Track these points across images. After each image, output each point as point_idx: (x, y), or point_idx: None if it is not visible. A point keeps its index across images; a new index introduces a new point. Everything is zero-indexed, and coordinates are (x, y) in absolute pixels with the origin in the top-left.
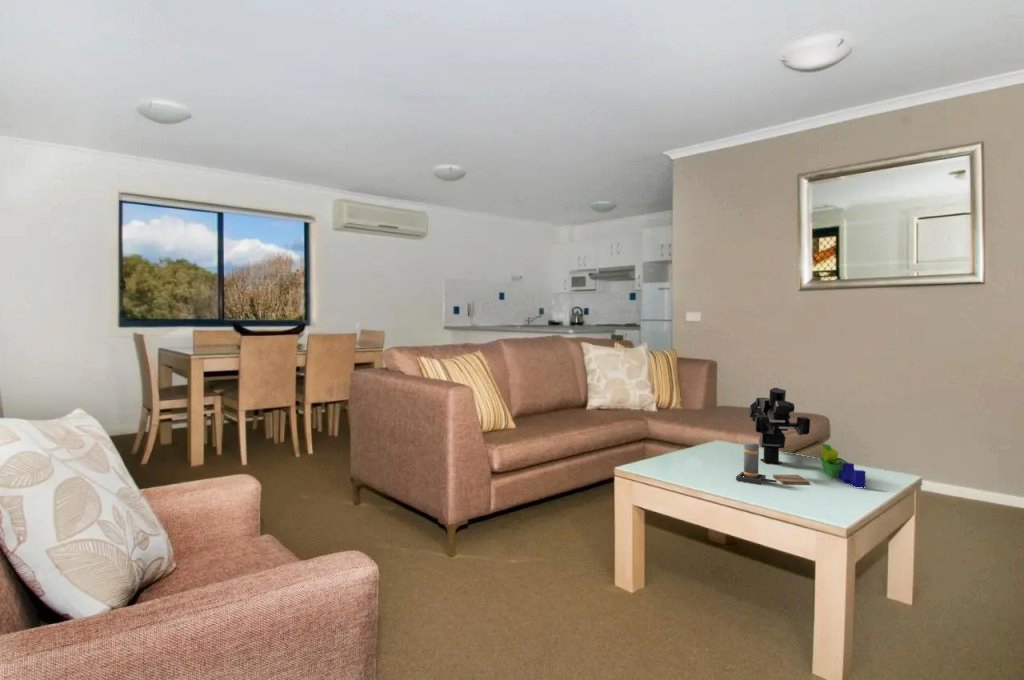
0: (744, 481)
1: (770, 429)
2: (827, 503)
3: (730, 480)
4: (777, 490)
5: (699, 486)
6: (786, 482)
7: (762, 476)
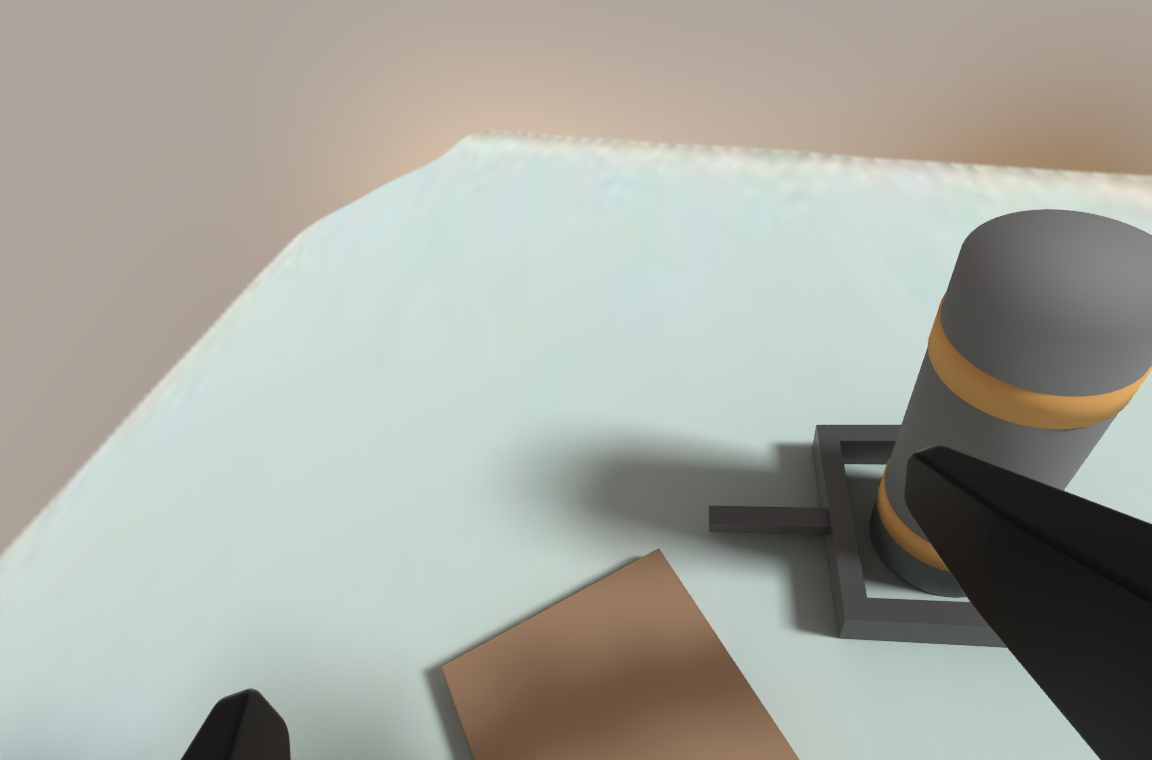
0: None
1: (1106, 532)
2: (397, 308)
3: None
4: (665, 381)
5: None
6: (633, 566)
7: (849, 544)
